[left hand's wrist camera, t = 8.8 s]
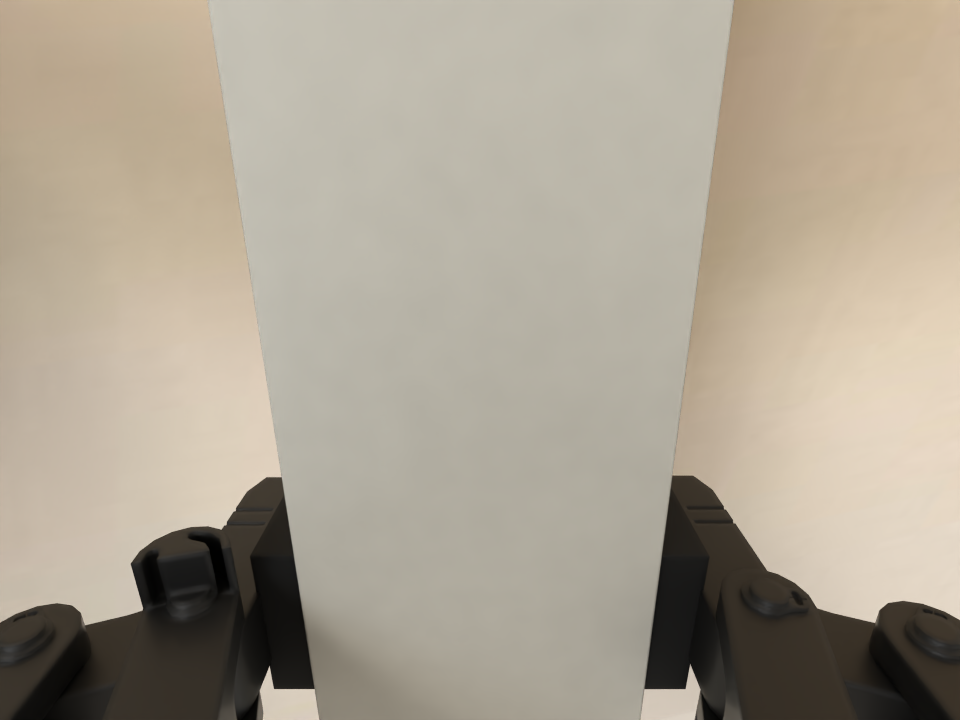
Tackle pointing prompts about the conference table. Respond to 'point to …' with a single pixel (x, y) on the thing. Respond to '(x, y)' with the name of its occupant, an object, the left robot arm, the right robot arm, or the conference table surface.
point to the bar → (475, 330)
